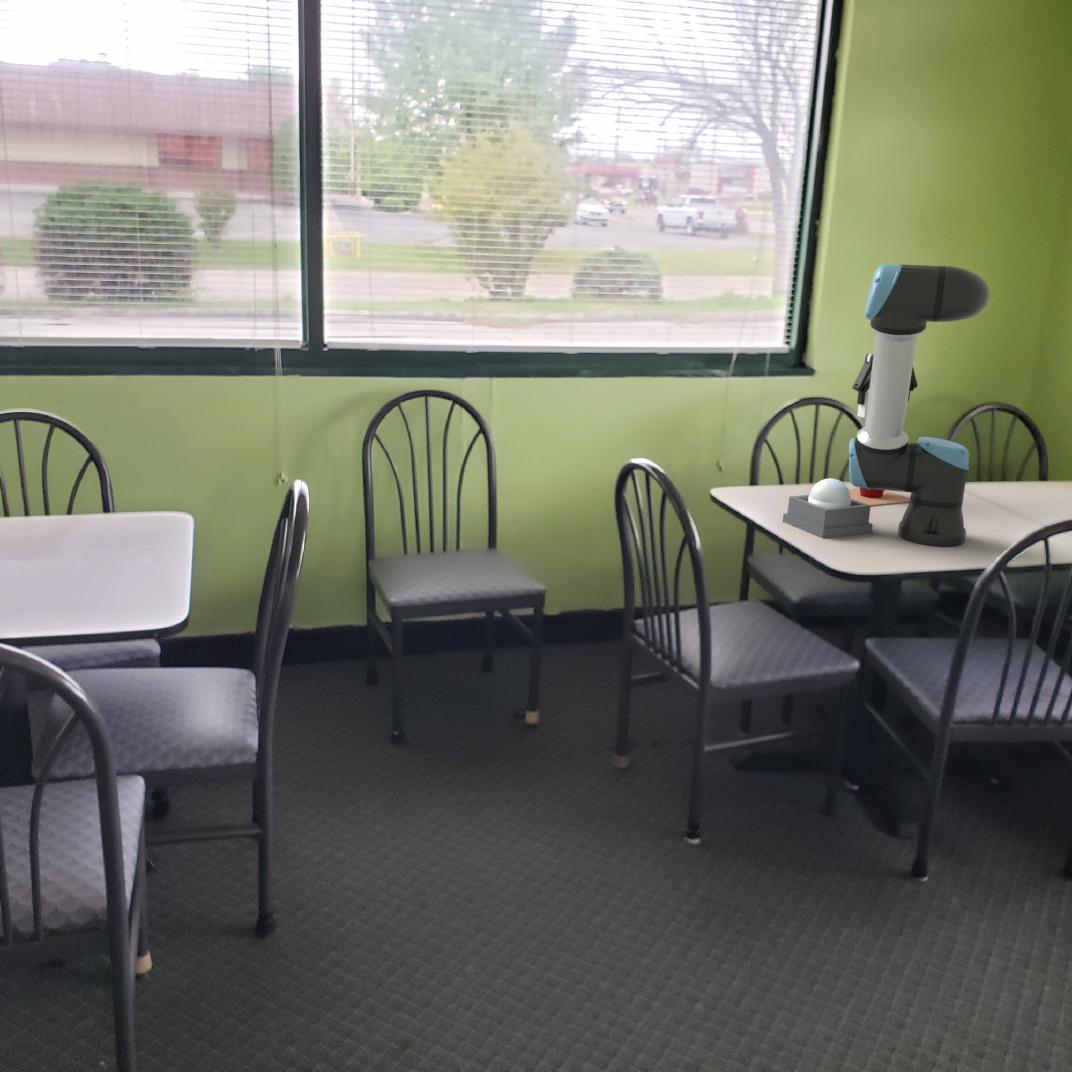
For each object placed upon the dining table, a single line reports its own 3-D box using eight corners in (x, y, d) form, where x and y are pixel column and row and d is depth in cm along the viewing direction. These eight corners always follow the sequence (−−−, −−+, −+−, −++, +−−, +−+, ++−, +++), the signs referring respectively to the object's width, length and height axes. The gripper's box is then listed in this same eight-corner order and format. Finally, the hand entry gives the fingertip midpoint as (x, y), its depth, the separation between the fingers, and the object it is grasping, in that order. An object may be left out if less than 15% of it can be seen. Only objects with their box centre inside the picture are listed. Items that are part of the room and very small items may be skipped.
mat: (915, 501, 277) (915, 500, 277) (869, 506, 271) (869, 505, 271) (874, 487, 291) (874, 486, 291) (829, 492, 285) (829, 490, 285)
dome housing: (871, 531, 247) (874, 506, 245) (822, 537, 241) (825, 511, 239) (830, 516, 260) (833, 491, 258) (782, 521, 254) (785, 496, 252)
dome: (857, 520, 248) (862, 482, 245) (824, 524, 244) (829, 485, 241) (830, 510, 256) (834, 472, 254) (798, 513, 252) (802, 475, 250)
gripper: (917, 333, 277) (907, 411, 283) (844, 334, 267) (835, 415, 273) (938, 336, 270) (927, 415, 276) (864, 337, 260) (854, 420, 266)
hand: (881, 415), depth 275 cm, fingers open, 13 cm apart
